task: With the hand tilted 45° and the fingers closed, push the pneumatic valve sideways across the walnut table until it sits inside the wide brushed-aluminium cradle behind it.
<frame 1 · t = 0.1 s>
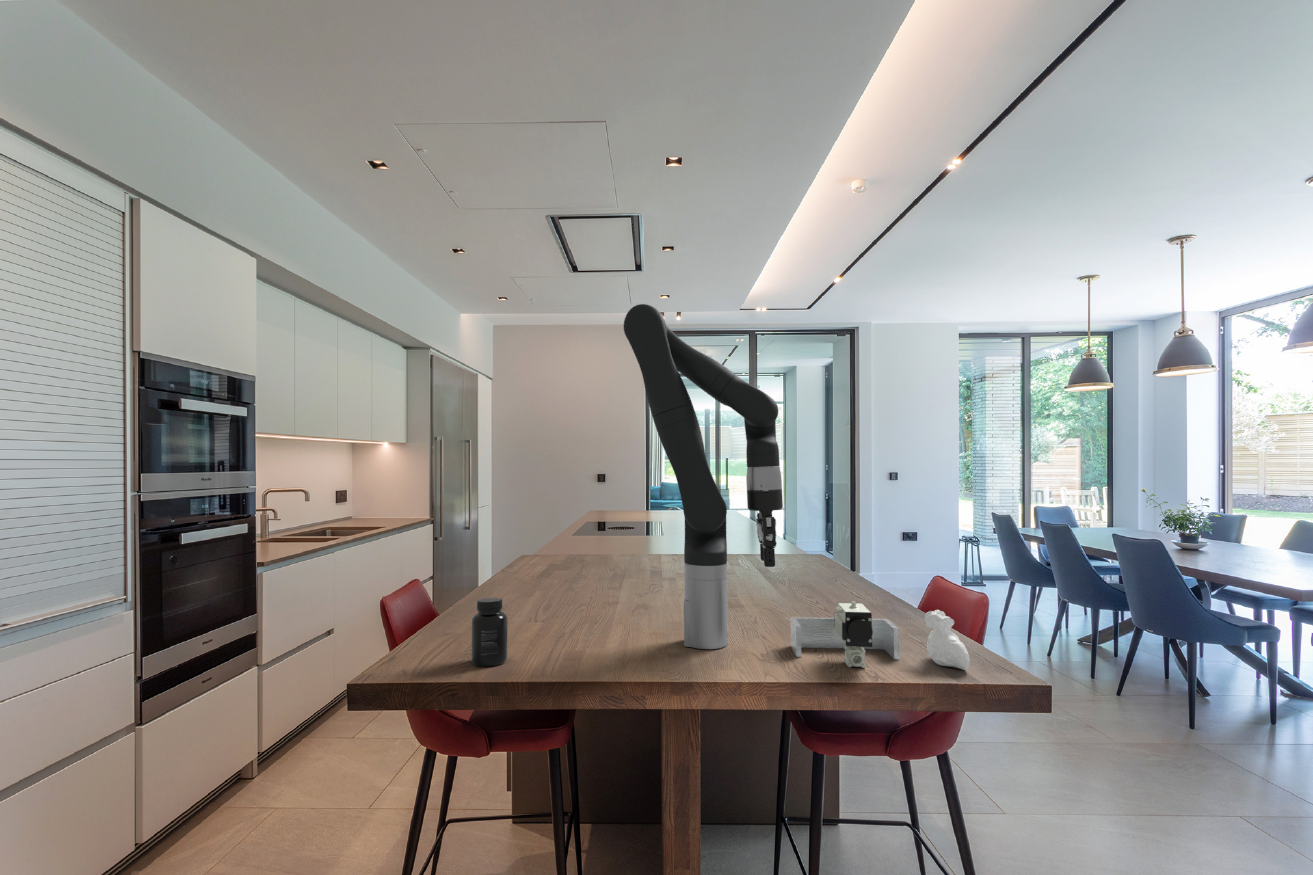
hand: (767, 563, 130), 17 cm above the table, tool pointing down, fingers open, 8 cm apart
pneumatic valve: (852, 666, 116), on the table
supplement bottle: (489, 663, 118), on the table
cradle: (839, 646, 128), on the table
bust: (945, 665, 117), on the table
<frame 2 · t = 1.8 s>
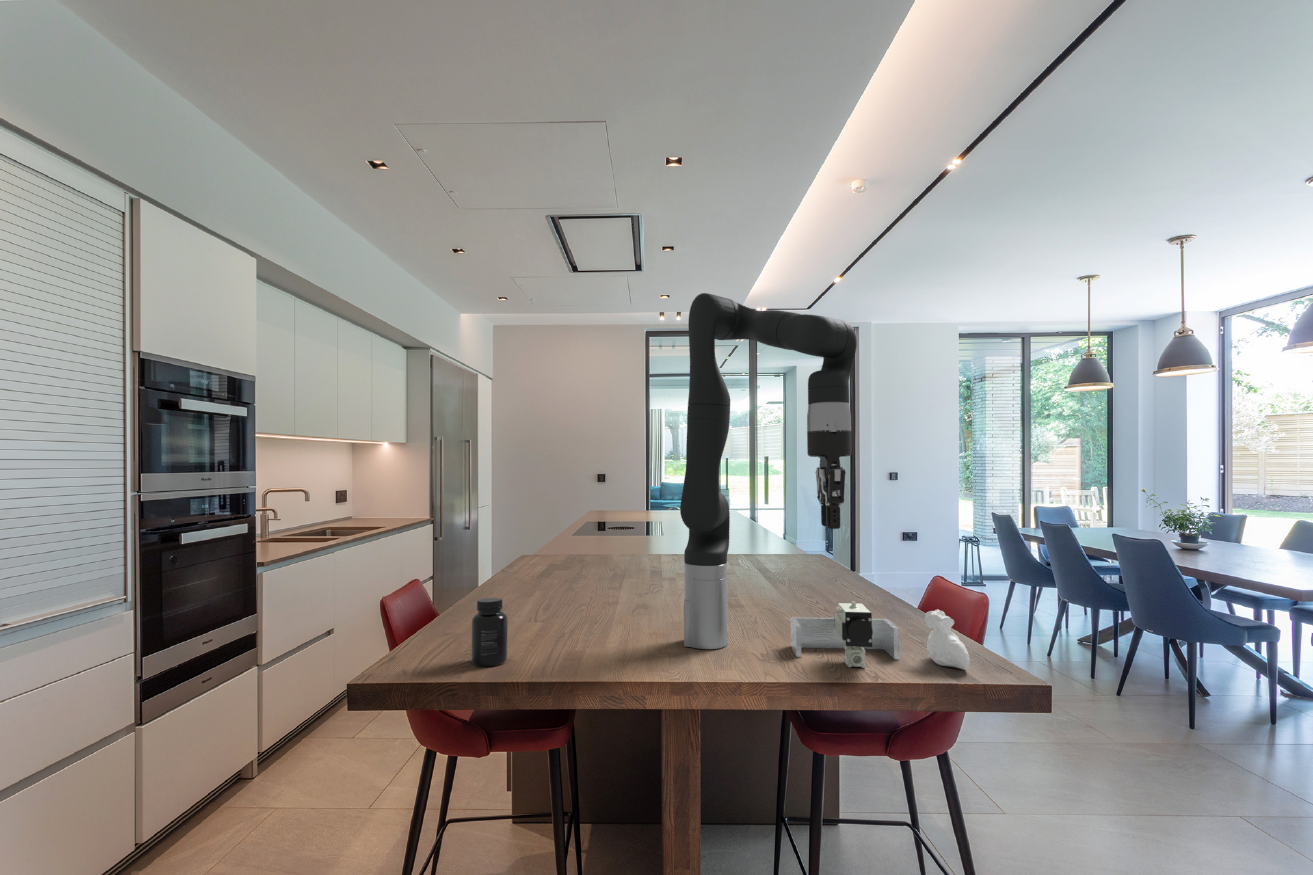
hand: (830, 526, 106), 27 cm above the table, tool pointing down, fingers open, 4 cm apart
nothing on the table moved.
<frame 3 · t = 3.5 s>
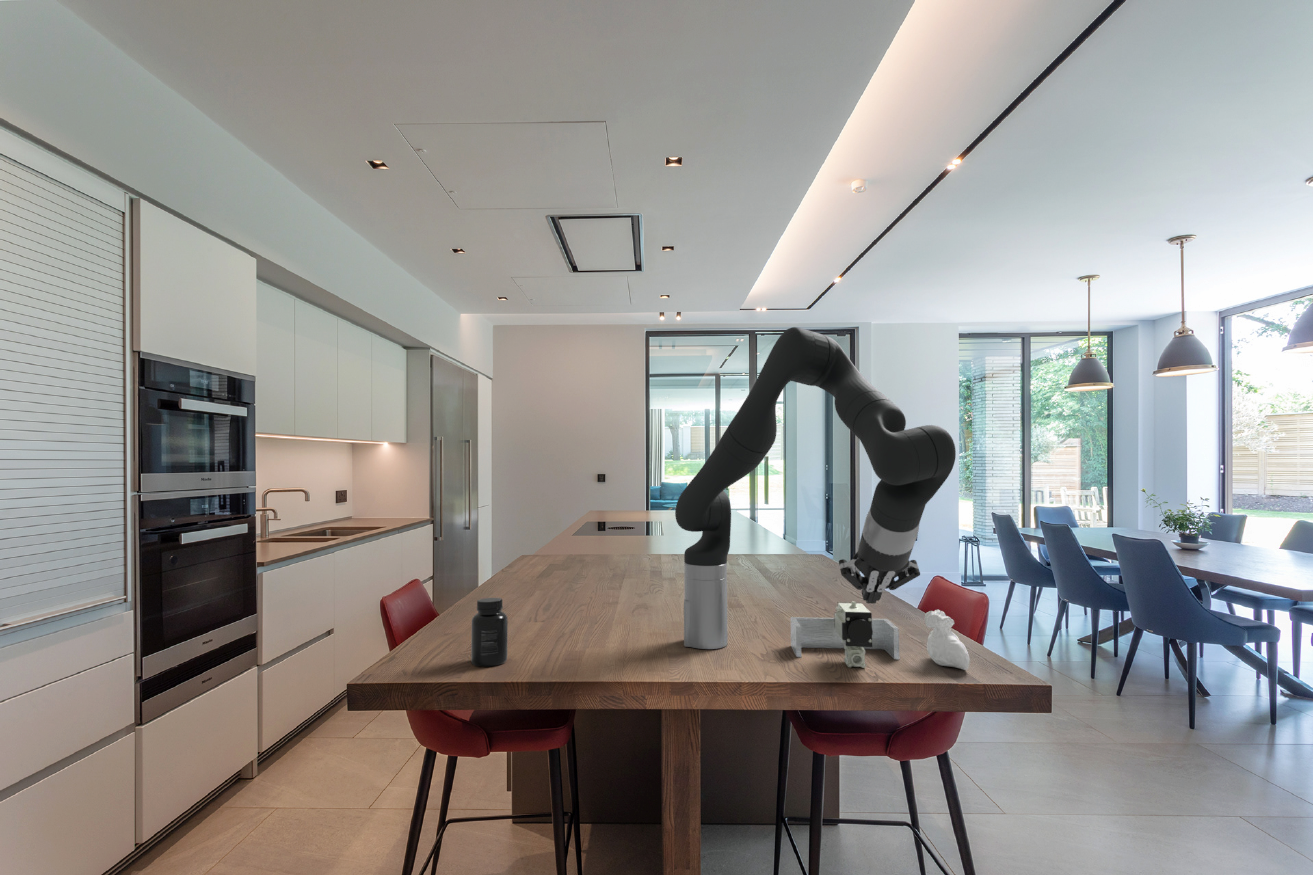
hand: (869, 598, 104), 15 cm above the table, tool tilted 45°, fingers closed
nothing on the table moved.
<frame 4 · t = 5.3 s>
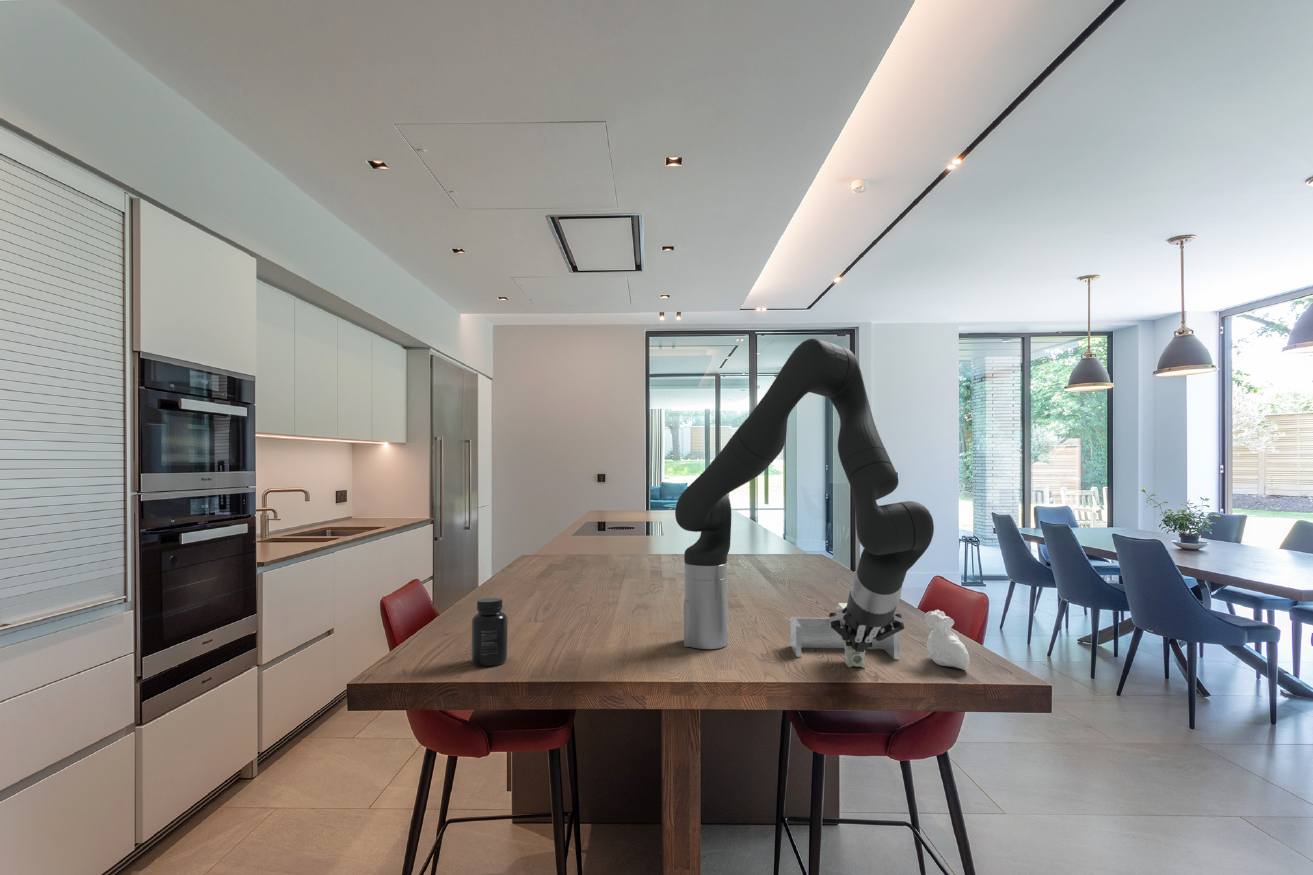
hand: (858, 647, 111), 5 cm above the table, tool tilted 45°, fingers closed
pneumatic valve: (852, 665, 116), on the table, touching gripper
everything else where it was.
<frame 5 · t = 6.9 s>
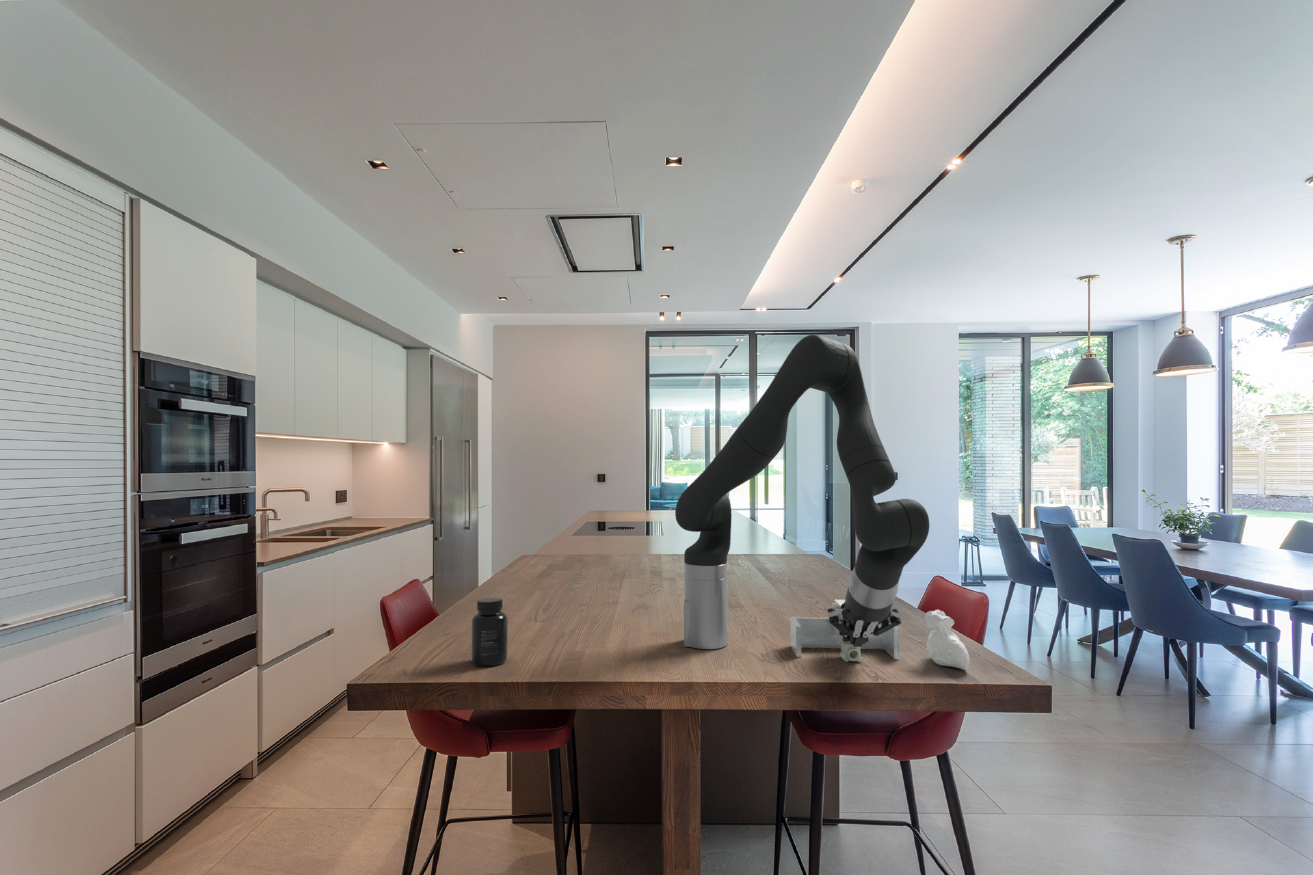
hand: (856, 642, 114), 5 cm above the table, tool tilted 45°, fingers closed
pneumatic valve: (848, 660, 119), on the table
everything else where it was.
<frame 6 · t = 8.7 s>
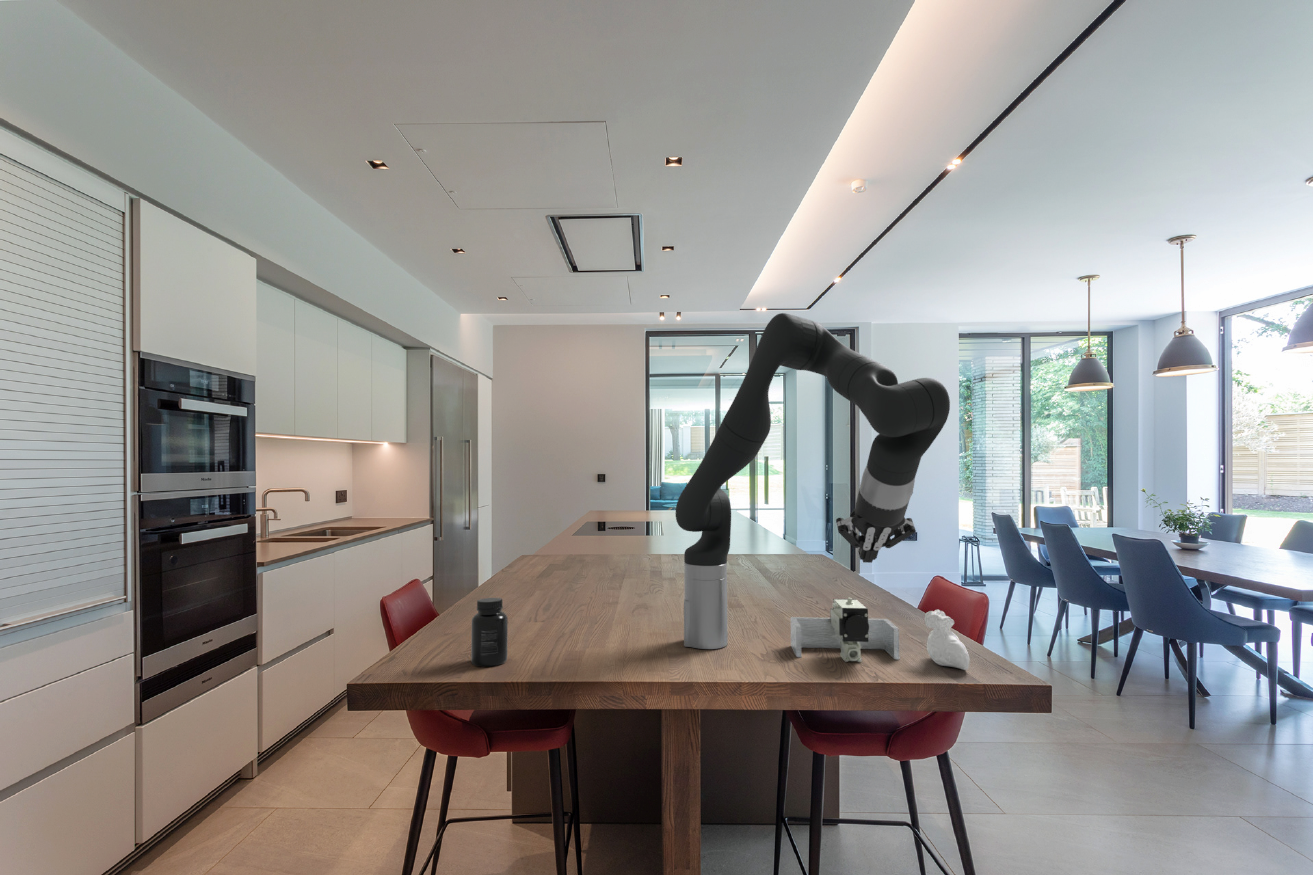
hand: (866, 558, 106), 22 cm above the table, tool tilted 45°, fingers closed
nothing on the table moved.
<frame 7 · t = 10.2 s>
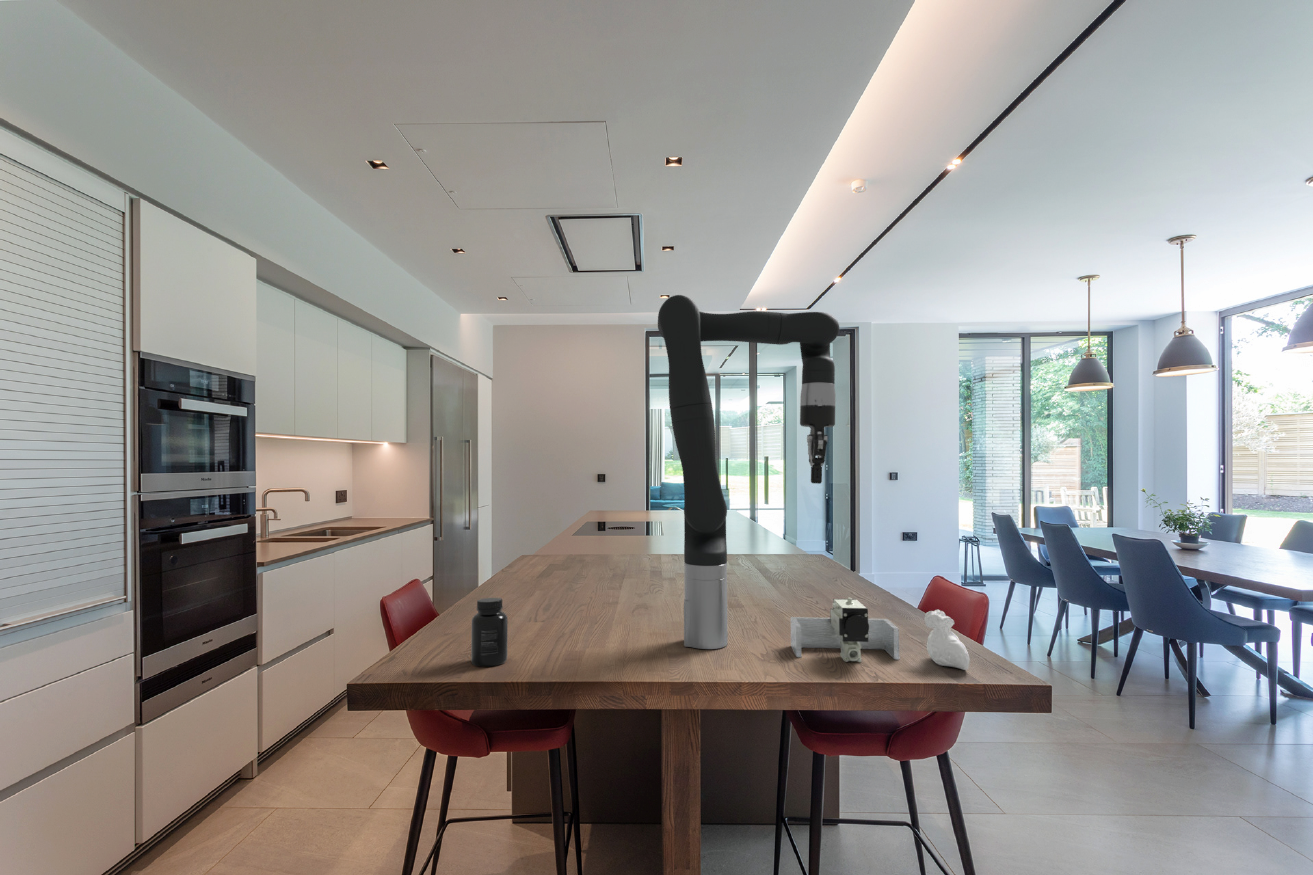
hand: (816, 483, 134), 34 cm above the table, tool pointing down, fingers closed
nothing on the table moved.
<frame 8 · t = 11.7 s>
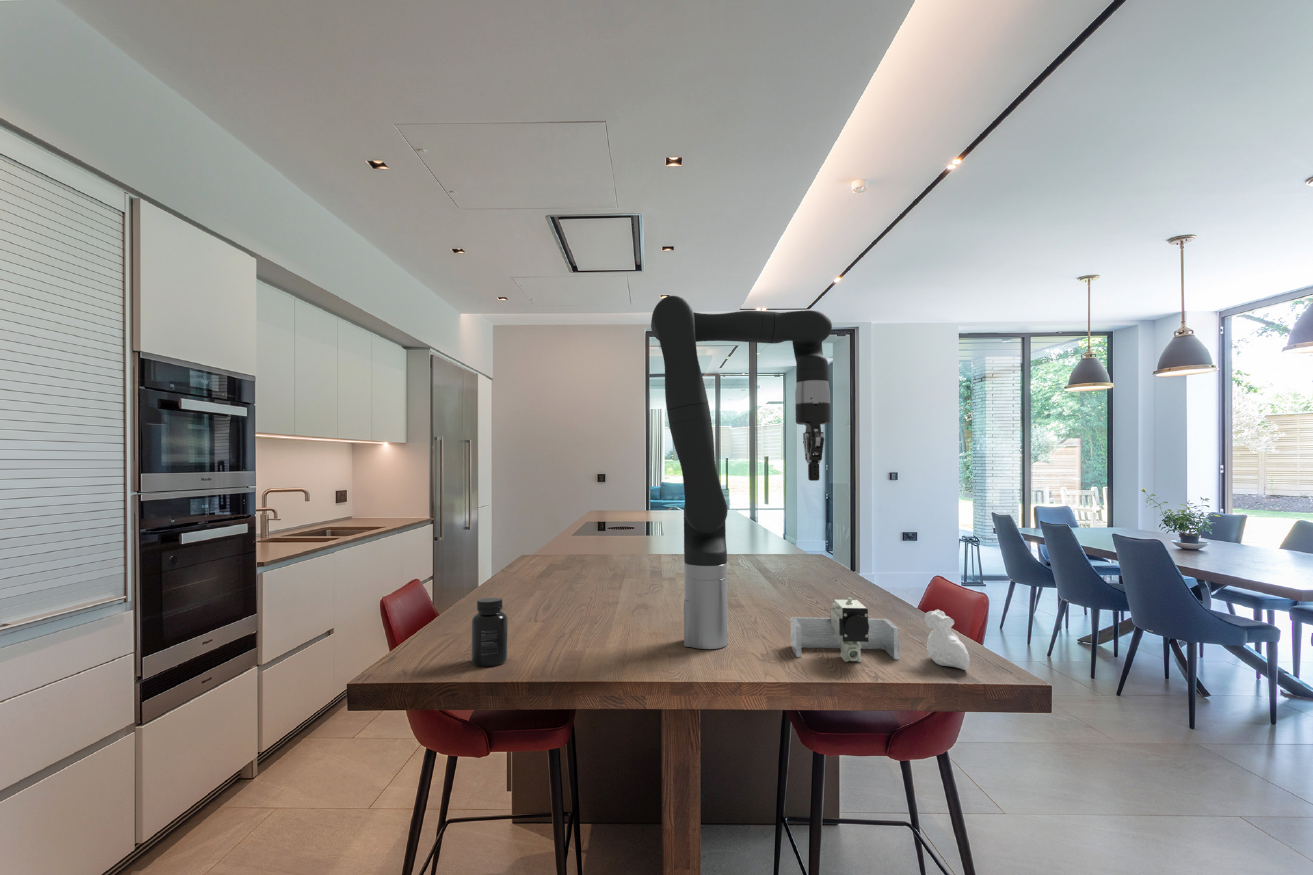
hand: (813, 480, 134), 35 cm above the table, tool pointing down, fingers closed
nothing on the table moved.
at the end: pneumatic valve inside the target area (2.3 cm from its centre), on the table; pneumatic valve moved 3.4 cm from its start; pneumatic valve tilted 0° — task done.
